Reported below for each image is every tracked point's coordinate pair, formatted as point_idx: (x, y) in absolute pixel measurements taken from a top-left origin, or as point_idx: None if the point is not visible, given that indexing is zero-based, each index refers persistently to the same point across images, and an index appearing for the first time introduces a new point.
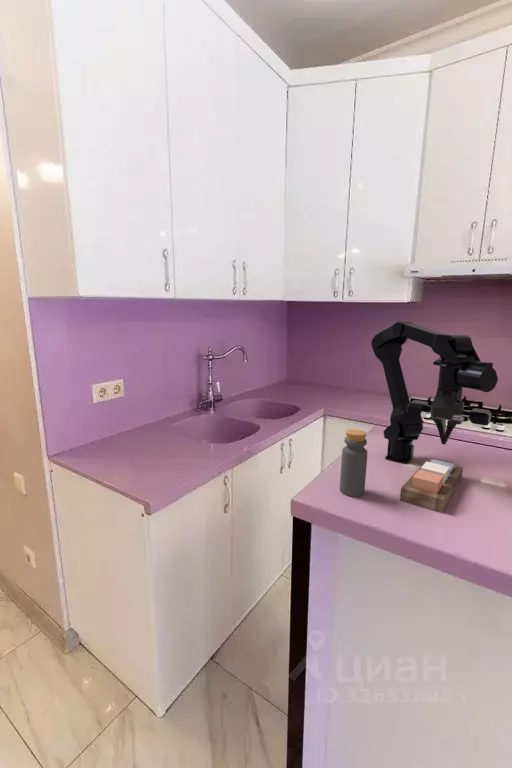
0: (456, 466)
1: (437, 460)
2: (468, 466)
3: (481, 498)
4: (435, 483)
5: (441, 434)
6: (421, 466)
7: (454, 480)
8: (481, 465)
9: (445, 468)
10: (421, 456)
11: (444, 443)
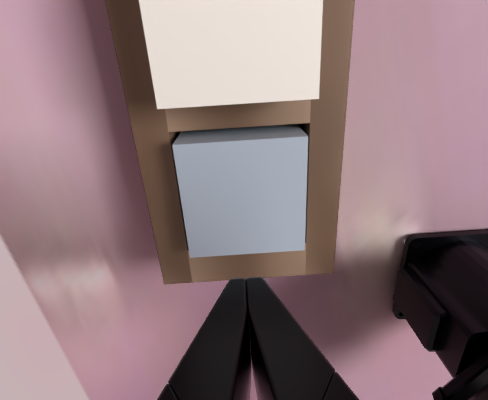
0: (190, 271)
1: (277, 249)
2: None
3: (19, 79)
4: None
5: (284, 346)
6: (338, 143)
7: (120, 54)
8: None
9: (165, 45)
10: (362, 349)
11: (236, 282)
